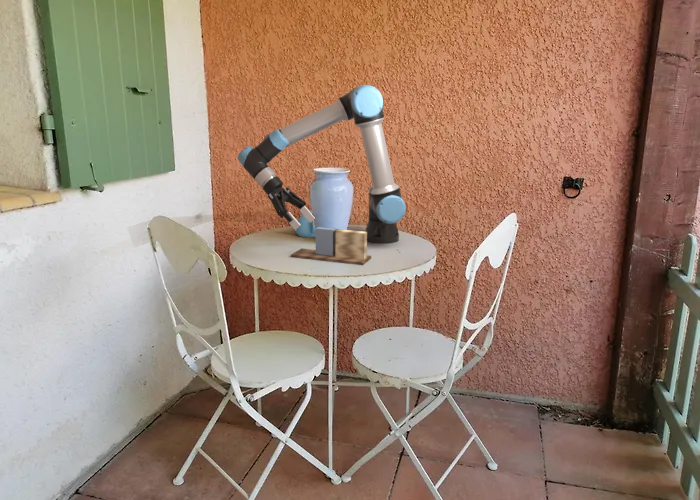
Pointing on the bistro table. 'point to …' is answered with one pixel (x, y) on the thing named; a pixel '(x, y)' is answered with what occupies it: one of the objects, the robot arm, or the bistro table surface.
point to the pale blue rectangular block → (325, 241)
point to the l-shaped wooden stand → (342, 249)
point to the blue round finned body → (306, 228)
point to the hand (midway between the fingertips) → (305, 223)
